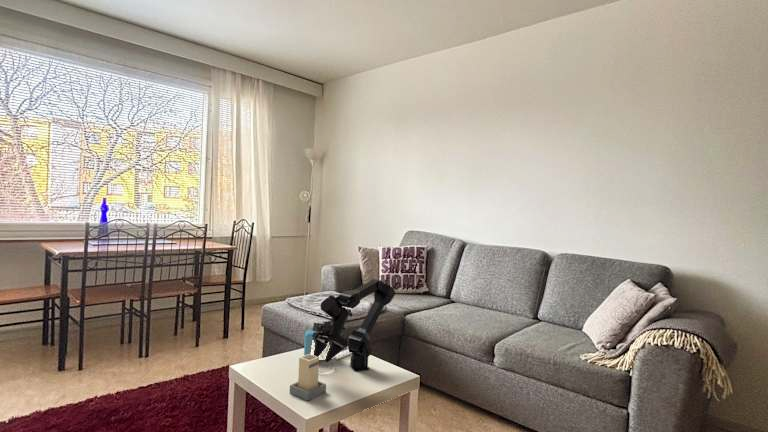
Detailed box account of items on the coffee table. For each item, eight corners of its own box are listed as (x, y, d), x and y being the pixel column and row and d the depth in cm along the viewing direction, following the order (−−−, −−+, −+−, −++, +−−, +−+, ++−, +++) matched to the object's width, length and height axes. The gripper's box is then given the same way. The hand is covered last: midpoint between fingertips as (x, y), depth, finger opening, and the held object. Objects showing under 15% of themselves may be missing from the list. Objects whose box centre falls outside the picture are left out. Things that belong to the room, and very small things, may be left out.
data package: (330, 355, 193) (332, 329, 192) (332, 359, 188) (333, 332, 188) (303, 357, 189) (304, 330, 189) (304, 361, 185) (305, 333, 185)
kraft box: (307, 386, 159) (309, 353, 159) (317, 390, 156) (319, 357, 156) (297, 391, 155) (299, 357, 154) (307, 395, 152) (309, 361, 152)
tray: (307, 384, 162) (308, 377, 162) (325, 392, 157) (326, 384, 157) (289, 393, 154) (289, 385, 154) (308, 401, 149) (308, 392, 149)
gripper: (310, 311, 172) (292, 348, 165) (334, 313, 157) (315, 354, 150) (331, 324, 176) (314, 360, 170) (356, 327, 162) (339, 367, 155)
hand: (320, 360), depth 161 cm, fingers open, 9 cm apart
